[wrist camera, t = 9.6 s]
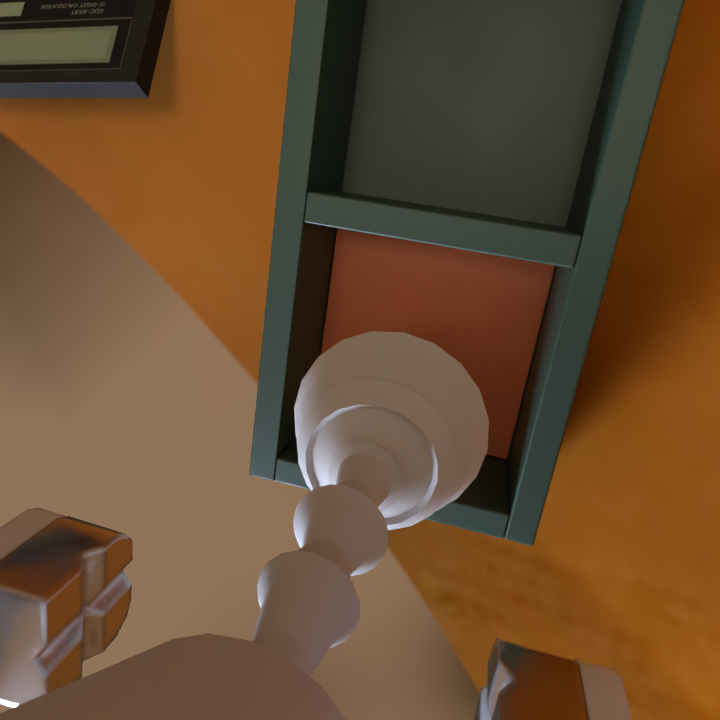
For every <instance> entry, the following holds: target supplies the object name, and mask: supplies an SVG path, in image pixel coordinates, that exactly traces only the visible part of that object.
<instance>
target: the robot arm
mask: <svg viewBox="0 0 720 720" xmlns="http://www.w3.org/2000/svg"><path fill="white" fill-rule="evenodd" d="M131 561H132V539H131V538H129V537H128V536H127V535H126V534H124V533H121V532H118V531H114V530H111V529H108V528H105V527H101V526H98V525H95V524H92V523H89V522H85V521H82V520H79V519H76V518H72V517H69V516H67V517H66V516H64V515H61V514H58V513H54V512H51V511H48V510H44V509H41V508H34V509H27V510H26V511H24V512H23V513H21V514H20V515H18V516H17V517H15V518H14V519H12V520H11V521H9V522H8V523H6V524H5V525H3V526H2V527H0V703H1V704H4V705H7V706H11V707H13V708H14V707H16V706H19V705H21V704H23V703H26V702H28V701H30V700H33V699H35V698H37V697H40V696H42V695H44V694H47V693H49V692H51V691H54V690H56V689H58V688H61V687H63V686H65V685H68V684H70V683H72V682H75V681H77V680H79V679H81V678H82V665H83V661H84V660H87V659H89V658H91V657H93V656H96V655H97V654H100V653H102V652H104V651H105V649H106V648H107V647H108V646H109V645H110V643H111V642H112V641H113V640H114V639H115V637H116V636H117V634H118V632H119V630H120V628H121V626H122V624H123V622H124V621H125V618H126V617H127V614H128V609H129V606H130V602H131V589H132V585H131V583H130V582H129V580H128V578H127V576H126V575H125V573H124V571H123V569H124V568H125V567H126V566H127V565H128V564H129V563H130V562H131ZM474 720H633V718H632V714H631V710H630V707H629V703H628V699H627V696H626V692H625V688H624V685H623V681H622V677H621V675H620V674H619V673H618V672H617V670H616V669H612V668H608V667H604V666H600V665H596V664H593V663H589V662H585V661H581V660H577V659H575V660H572V659H569V658H566V657H562V656H559V655H555V654H551V653H548V652H544V651H540V650H537V649H533V648H529V647H526V646H522V645H518V644H515V643H511V642H508V641H504V640H500V639H497V638H496V640H495V642H494V644H493V647H492V650H491V654H490V657H489V661H488V683H487V685H486V686H485V687H483V688H482V689H481V691H480V695H479V699H478V703H477V707H476V712H475V718H474Z"/></svg>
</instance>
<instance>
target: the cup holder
mask: <svg viewBox="0 0 720 720" xmlns="http://www.w3.org/2000/svg"><path fill="white" fill-rule="evenodd" d="M684 2H685V0H296V6H295V16H294V26H293V36H292V47H291V57H290V67H289V77H288V87H287V97H286V107H285V118H284V128H283V138H282V148H281V158H280V168H279V178H278V188H277V199H276V209H275V219H274V229H273V239H272V249H271V259H270V270H269V280H268V290H267V300H266V310H265V320H264V330H263V340H262V351H261V361H260V371H259V381H258V392H257V401H256V411H255V422H254V433H253V442H252V452H251V462H250V472H249V474H250V475H252V476H256V477H260V478H263V479H268V480H272V481H274V480H275V481H277V482H281V483H285V484H289V485H293V486H297V487H301V488H305V489H309V490H310V488H309V487H308V486H307V484H306V482H305V479H304V476H303V474H302V471H301V468H300V466H299V463H298V450H297V438H296V433H295V414H294V406H295V403H296V399H297V396H298V392H299V388H300V385H301V381H302V379H303V378H304V376H305V375H306V374H307V372H308V371H309V369H310V368H311V366H312V365H313V364H314V362H315V361H316V359H317V358H318V357H319V356H320V355H322V354H323V353H324V352H326V351H327V350H329V349H330V348H331V347H333V346H334V345H336V344H337V343H338V342H340V341H341V340H344V339H347V338H350V337H354V336H357V335H361V334H364V333H367V332H371V331H378V332H404V333H407V334H410V335H412V336H415V337H418V338H421V339H424V340H426V341H429V342H432V343H435V344H436V345H437V346H439V347H440V348H441V349H443V350H444V351H445V352H447V353H448V354H449V355H451V356H452V357H453V358H455V359H456V360H457V361H459V362H460V363H461V364H462V366H463V367H464V368H465V370H466V371H467V373H468V374H469V375H470V377H471V378H472V380H473V381H474V383H475V384H476V385H477V387H478V388H479V390H480V392H481V396H482V399H483V402H484V406H485V409H486V412H487V416H488V419H489V429H488V450H487V453H486V455H485V458H484V460H483V463H482V465H481V467H480V470H479V472H478V475H477V477H476V478H475V479H474V480H473V482H472V483H471V484H470V485H469V486H468V487H467V488H466V489H465V490H464V492H463V493H462V494H461V495H460V496H459V497H458V498H457V499H455V500H454V501H452V502H450V503H448V504H446V505H445V506H444V507H443V508H441V509H439V510H437V511H435V512H434V513H433V514H432V515H431V516H429V517H427V518H425V519H427V520H431V521H435V522H439V523H443V524H447V525H451V526H455V527H459V528H463V529H467V530H471V531H475V532H479V533H483V534H487V535H491V536H495V537H499V538H504V537H505V539H507V540H511V541H515V542H519V543H522V544H526V545H530V546H532V545H533V544H534V541H535V537H536V533H537V530H538V526H539V523H540V519H541V515H542V512H543V508H544V505H545V501H546V497H547V494H548V490H549V487H550V483H551V479H552V476H553V472H554V469H555V465H556V461H557V458H558V454H559V451H560V447H561V444H562V440H563V436H564V433H565V429H566V426H567V422H568V418H569V415H570V411H571V408H572V404H573V400H574V397H575V393H576V390H577V386H578V382H579V379H580V375H581V372H582V368H583V364H584V361H585V357H586V354H587V350H588V346H589V343H590V339H591V336H592V332H593V329H594V325H595V321H596V318H597V314H598V311H599V307H600V303H601V300H602V296H603V293H604V289H605V285H606V282H607V278H608V275H609V271H610V267H611V264H612V260H613V257H614V253H615V249H616V246H617V242H618V239H619V235H620V231H621V228H622V224H623V221H624V217H625V214H626V210H627V206H628V203H629V199H630V196H631V192H632V188H633V185H634V181H635V178H636V174H637V170H638V167H639V163H640V160H641V156H642V152H643V149H644V145H645V142H646V138H647V134H648V131H649V127H650V124H651V120H652V117H653V113H654V109H655V106H656V102H657V99H658V95H659V91H660V88H661V84H662V81H663V77H664V73H665V70H666V66H667V63H668V59H669V55H670V52H671V48H672V45H673V41H674V37H675V34H676V30H677V27H678V23H679V19H680V16H681V12H682V9H683V5H684Z"/></svg>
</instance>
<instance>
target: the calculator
mask: <svg viewBox="0 0 720 720" xmlns="http://www.w3.org/2000/svg"><path fill="white" fill-rule="evenodd" d="M169 5H170V0H0V98H148V96H149V92H150V87H151V83H152V78H153V74H154V70H155V65H156V61H157V57H158V52H159V48H160V44H161V39H162V35H163V31H164V26H165V22H166V18H167V13H168V9H169Z"/></svg>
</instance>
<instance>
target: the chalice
mask: <svg viewBox="0 0 720 720" xmlns="http://www.w3.org/2000/svg"><path fill="white" fill-rule="evenodd" d="M294 414H295V433H296V438H297V450H298V463H299V466H300V468H301V471H302V474H303V476H304V479H305V482H306V484H307V486H308V487H309V488H310V490H311V491H310V492H309V493H307V494H306V495H304V497H303V498H302V500H301V501H300V502H299V504H298V505H297V508H296V511H295V515H294V519H293V521H294V533H295V536H296V539H297V541H298V544H299V546H300V549H299V550H298V551H292V552H287V553H282V554H280V555H278V556H277V557H275V558H273V559H272V560H270V561H269V562H268V563H267V565H266V566H265V567H264V569H263V570H262V571H261V573H260V577H259V581H258V585H257V591H258V602H259V604H260V607H261V611H260V615H259V619H258V622H257V626H256V630H255V634H254V637H253V640H252V642H251V641H248V640H244V639H238V638H232V637H226V636H220V635H213V634H202V635H196V636H190V637H183V638H177V639H172V640H170V641H168V642H165V643H163V644H161V645H158V646H156V647H154V648H152V649H149V650H147V651H144V652H142V653H140V654H138V655H135V656H133V657H131V658H128V659H126V660H124V661H121V662H119V663H117V664H114V665H112V666H110V667H107V668H105V669H103V670H100V671H98V672H96V673H94V674H91V675H89V676H86V677H84V678H82V679H79V680H77V681H75V682H72V683H70V684H68V685H65V686H63V687H61V688H58V689H56V690H54V691H51V692H49V693H47V694H44V695H42V696H40V697H37V698H35V699H33V700H30V701H28V702H26V703H23V704H21V705H19V706H16V707H14V708H12V709H9V710H7V711H5V712H2V713H0V720H346V719H345V717H344V716H343V714H342V713H341V712H340V710H339V709H338V708H337V706H336V705H335V704H334V702H333V701H332V700H331V698H330V697H329V696H328V694H327V693H326V691H325V690H324V689H323V687H322V686H321V685H319V684H318V683H317V682H316V681H314V680H313V679H312V678H311V677H310V675H311V674H312V673H313V671H314V670H315V668H316V667H317V666H318V664H319V663H320V661H321V660H322V658H323V656H324V655H325V654H326V653H327V651H328V650H329V648H332V647H334V646H336V645H338V644H340V643H342V642H344V641H346V640H347V639H348V638H349V637H350V635H351V634H352V633H353V632H354V631H355V630H356V627H357V624H358V621H359V617H360V602H359V598H358V595H357V592H356V590H355V587H354V585H353V583H352V582H351V581H350V576H354V575H359V574H364V573H366V572H367V571H369V570H371V569H373V568H375V567H376V566H377V564H378V563H379V562H380V561H381V560H382V558H383V557H384V555H385V552H386V549H387V546H388V530H393V529H398V528H404V527H409V526H412V525H414V524H416V523H418V522H420V521H421V520H423V519H425V518H427V517H429V516H431V515H432V514H433V513H434V512H435V511H437V510H439V509H441V508H443V507H444V506H445V505H446V504H448V503H450V502H452V501H454V500H455V499H457V498H458V497H459V496H460V495H461V494H462V493H463V492H464V490H465V489H466V488H467V487H468V486H469V485H470V484H471V483H472V482H473V480H474V479H475V478H476V477H477V475H478V472H479V470H480V467H481V465H482V463H483V460H484V458H485V455H486V453H487V450H488V429H489V419H488V416H487V412H486V409H485V406H484V402H483V399H482V396H481V392H480V390H479V388H478V387H477V385H476V384H475V383H474V381H473V380H472V378H471V377H470V375H469V374H468V373H467V371H466V370H465V368H464V367H463V366H462V364H461V363H460V362H459V361H457V360H456V359H455V358H453V357H452V356H451V355H449V354H448V353H447V352H445V351H444V350H443V349H441V348H440V347H439V346H437V345H436V344H435V343H432V342H429V341H426V340H424V339H421V338H418V337H415V336H412V335H410V334H407V333H404V332H378V331H371V332H367V333H364V334H361V335H357V336H354V337H350V338H347V339H344V340H341V341H340V342H338V343H337V344H336V345H334V346H333V347H331V348H330V349H329V350H327V351H326V352H324V353H323V354H322V355H320V356H319V357H318V358H317V359H316V361H315V362H314V364H313V365H312V366H311V368H310V369H309V371H308V372H307V374H306V375H305V376H304V378H303V379H302V381H301V385H300V388H299V392H298V396H297V399H296V403H295V406H294Z"/></svg>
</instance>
